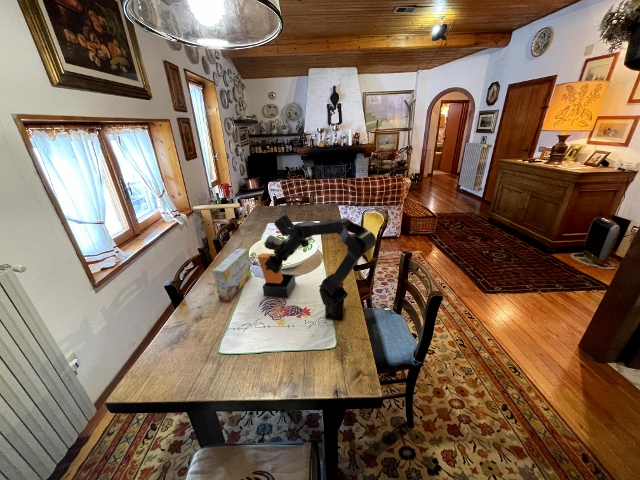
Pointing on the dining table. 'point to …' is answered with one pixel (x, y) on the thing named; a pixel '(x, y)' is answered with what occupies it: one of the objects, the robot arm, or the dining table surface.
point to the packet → (269, 275)
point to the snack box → (232, 274)
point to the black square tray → (280, 287)
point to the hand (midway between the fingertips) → (268, 267)
